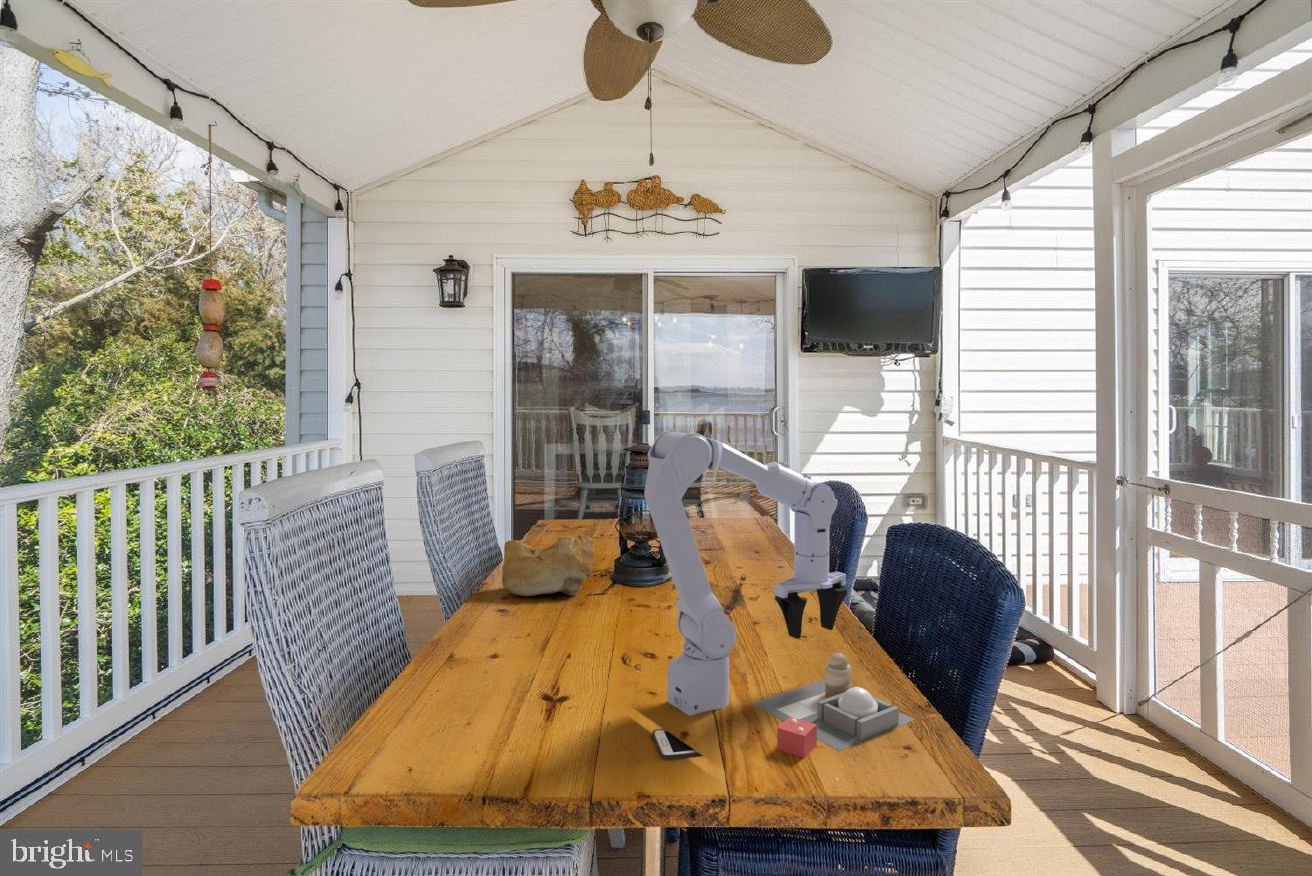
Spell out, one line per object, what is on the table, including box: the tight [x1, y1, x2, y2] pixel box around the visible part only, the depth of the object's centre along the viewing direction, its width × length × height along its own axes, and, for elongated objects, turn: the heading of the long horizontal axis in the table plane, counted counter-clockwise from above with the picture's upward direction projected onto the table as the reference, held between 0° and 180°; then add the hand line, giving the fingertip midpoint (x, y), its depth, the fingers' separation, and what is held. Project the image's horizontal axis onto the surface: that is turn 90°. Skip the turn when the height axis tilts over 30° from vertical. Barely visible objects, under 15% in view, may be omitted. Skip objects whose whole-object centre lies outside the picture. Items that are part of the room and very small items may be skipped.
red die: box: [776, 717, 818, 759], centre depth 97 cm, size 4×4×4 cm
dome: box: [838, 686, 878, 720], centre depth 104 cm, size 6×6×5 cm
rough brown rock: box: [501, 534, 595, 597], centre depth 179 cm, size 23×17×15 cm
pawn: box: [824, 652, 852, 698], centre depth 113 cm, size 4×4×7 cm
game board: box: [751, 679, 916, 752], centre depth 108 cm, size 16×18×4 cm
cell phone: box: [651, 728, 704, 761], centre depth 101 cm, size 8×15×1 cm, turn 101°
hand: (811, 632), depth 119 cm, fingers open, 7 cm apart
